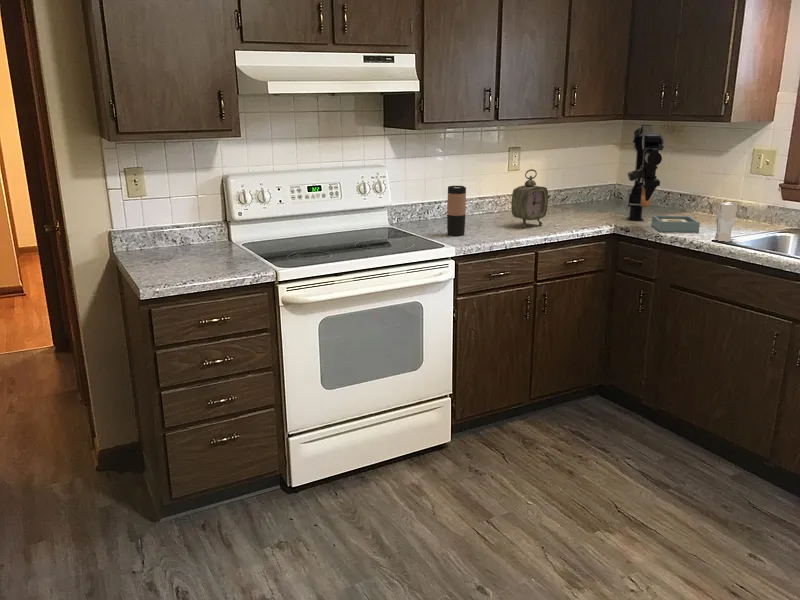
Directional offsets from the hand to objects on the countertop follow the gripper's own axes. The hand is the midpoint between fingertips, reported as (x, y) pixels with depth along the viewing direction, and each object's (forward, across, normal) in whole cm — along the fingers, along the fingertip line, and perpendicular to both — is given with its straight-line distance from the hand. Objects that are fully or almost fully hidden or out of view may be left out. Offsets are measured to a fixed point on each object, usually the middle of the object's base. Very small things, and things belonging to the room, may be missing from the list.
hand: (645, 200), depth 295 cm
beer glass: (+13, +22, +27) cm, 37 cm away
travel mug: (+13, +24, -80) cm, 85 cm away
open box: (+12, 0, +13) cm, 18 cm away
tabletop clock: (+13, 0, -50) cm, 51 cm away
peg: (+2, 0, 0) cm, 2 cm away
